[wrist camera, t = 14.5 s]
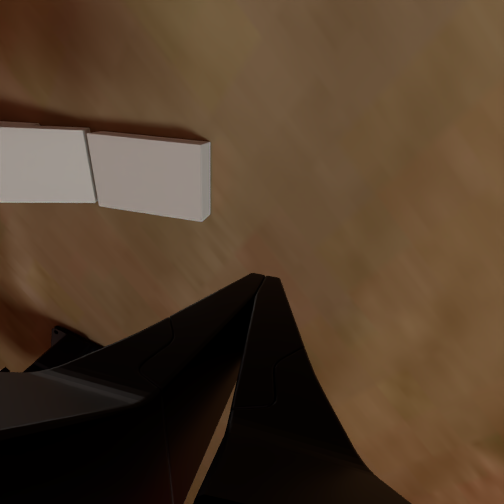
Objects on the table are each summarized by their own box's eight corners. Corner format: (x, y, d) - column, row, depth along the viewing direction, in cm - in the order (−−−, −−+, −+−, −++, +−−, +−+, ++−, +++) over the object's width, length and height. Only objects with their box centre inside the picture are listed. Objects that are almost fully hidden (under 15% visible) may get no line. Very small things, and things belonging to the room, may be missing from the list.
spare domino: (200, 145, 19) (86, 133, 20) (201, 221, 21) (98, 206, 23) (210, 141, 20) (103, 131, 22) (210, 213, 23) (113, 199, 24)
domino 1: (82, 130, 21) (-57, 124, 19) (95, 202, 23) (-29, 202, 22) (89, 127, 22) (-39, 122, 21) (101, 196, 24) (-15, 195, 23)
